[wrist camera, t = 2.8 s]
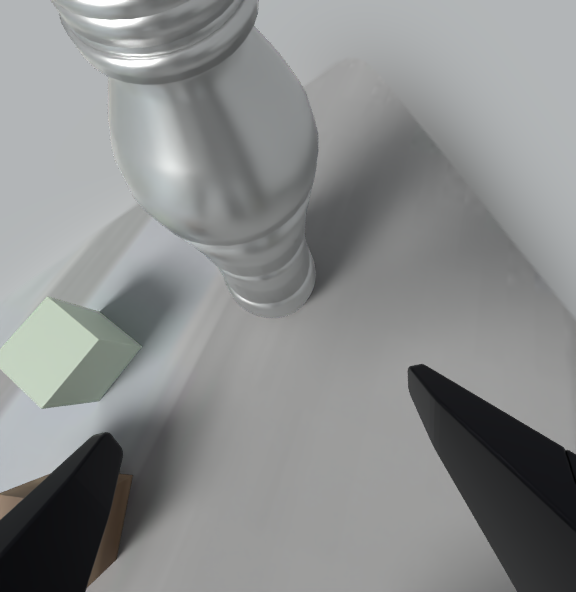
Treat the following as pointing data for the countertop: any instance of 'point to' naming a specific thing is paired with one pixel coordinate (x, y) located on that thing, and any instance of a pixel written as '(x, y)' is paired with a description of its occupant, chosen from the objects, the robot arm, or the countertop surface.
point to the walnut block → (113, 530)
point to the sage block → (66, 354)
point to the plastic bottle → (209, 135)
